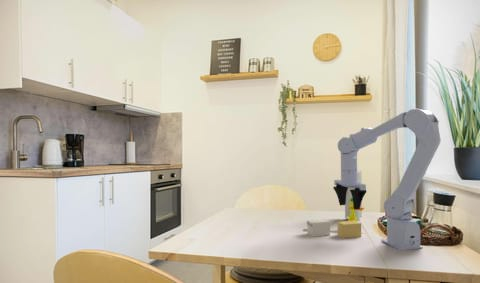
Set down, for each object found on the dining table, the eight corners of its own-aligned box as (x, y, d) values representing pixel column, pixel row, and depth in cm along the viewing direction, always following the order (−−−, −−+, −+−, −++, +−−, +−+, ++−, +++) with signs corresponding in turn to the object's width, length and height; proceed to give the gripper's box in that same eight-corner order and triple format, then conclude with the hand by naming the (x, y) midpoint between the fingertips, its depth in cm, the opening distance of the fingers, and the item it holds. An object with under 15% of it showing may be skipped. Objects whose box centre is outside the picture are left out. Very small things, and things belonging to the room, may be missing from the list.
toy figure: (364, 228, 121) (364, 198, 121) (363, 230, 118) (363, 199, 118) (346, 226, 124) (346, 196, 124) (345, 228, 121) (345, 198, 121)
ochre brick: (361, 237, 109) (361, 223, 109) (343, 238, 107) (343, 224, 107) (354, 233, 113) (354, 220, 113) (337, 235, 111) (337, 221, 111)
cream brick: (330, 235, 111) (330, 221, 111) (311, 237, 109) (311, 223, 109) (324, 232, 115) (324, 219, 115) (307, 233, 113) (306, 220, 113)
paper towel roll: (345, 219, 135) (345, 171, 135) (344, 216, 140) (344, 170, 140) (362, 220, 132) (362, 171, 132) (361, 217, 138) (361, 170, 138)
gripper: (372, 171, 107) (372, 210, 107) (344, 168, 121) (344, 202, 121) (356, 172, 105) (356, 211, 105) (329, 169, 118) (330, 204, 118)
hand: (349, 207), depth 112 cm, fingers open, 7 cm apart
